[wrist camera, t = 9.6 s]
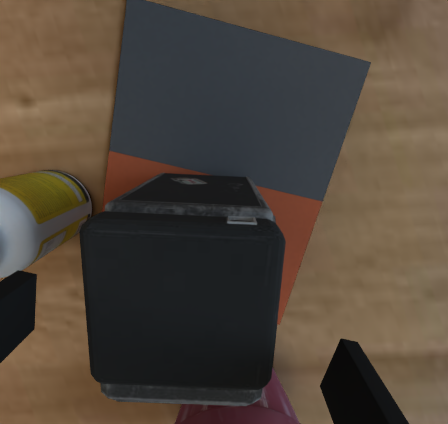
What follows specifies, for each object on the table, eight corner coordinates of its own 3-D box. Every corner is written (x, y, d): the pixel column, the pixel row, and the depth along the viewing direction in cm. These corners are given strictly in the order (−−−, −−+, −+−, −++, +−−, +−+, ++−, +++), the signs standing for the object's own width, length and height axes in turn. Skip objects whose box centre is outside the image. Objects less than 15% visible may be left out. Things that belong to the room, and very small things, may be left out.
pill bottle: (35, 157, 24) (-132, 174, 13) (103, 186, 25) (2, 225, 13) (20, 220, 26) (-140, 283, 14) (84, 245, 26) (-20, 324, 15)
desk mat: (369, 63, 22) (371, 62, 21) (278, 322, 29) (279, 324, 28) (128, -3, 21) (127, -5, 20) (94, 284, 27) (93, 286, 27)
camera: (154, 273, 27) (70, 433, 12) (151, 169, 24) (37, 218, 9) (256, 278, 27) (291, 442, 12) (265, 175, 24) (325, 231, 10)
